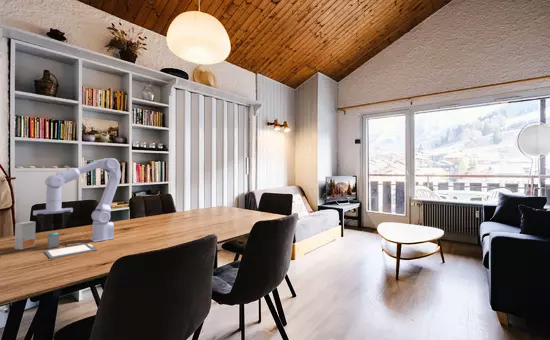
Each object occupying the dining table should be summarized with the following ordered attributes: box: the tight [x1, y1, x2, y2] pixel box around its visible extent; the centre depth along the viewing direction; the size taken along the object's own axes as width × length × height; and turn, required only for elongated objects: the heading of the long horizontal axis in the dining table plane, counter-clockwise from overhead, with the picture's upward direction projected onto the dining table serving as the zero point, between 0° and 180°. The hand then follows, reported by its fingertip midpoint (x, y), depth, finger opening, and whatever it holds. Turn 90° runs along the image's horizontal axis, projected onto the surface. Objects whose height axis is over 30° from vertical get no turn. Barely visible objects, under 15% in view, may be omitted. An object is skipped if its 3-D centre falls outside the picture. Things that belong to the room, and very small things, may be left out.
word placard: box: [65, 241, 83, 247], centre depth 133 cm, size 6×4×1 cm, turn 139°
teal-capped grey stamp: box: [47, 231, 60, 250], centre depth 128 cm, size 4×4×7 cm
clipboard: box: [43, 243, 98, 260], centre depth 124 cm, size 17×14×1 cm
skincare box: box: [14, 220, 37, 250], centre depth 127 cm, size 6×4×12 cm
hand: (53, 228), depth 128 cm, fingers open, 7 cm apart
